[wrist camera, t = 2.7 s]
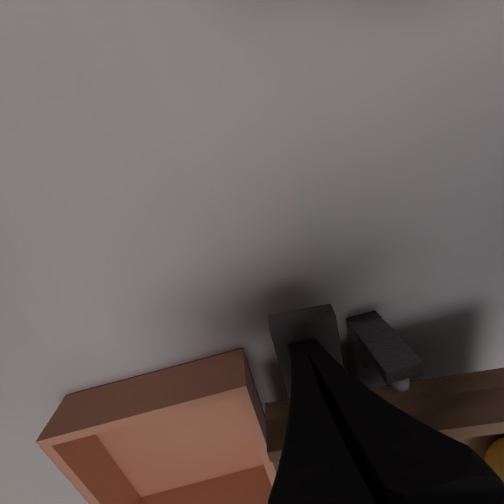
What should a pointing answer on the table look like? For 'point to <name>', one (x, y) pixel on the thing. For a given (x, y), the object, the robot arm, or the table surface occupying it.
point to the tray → (166, 437)
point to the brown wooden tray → (394, 388)
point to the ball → (496, 457)
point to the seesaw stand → (380, 352)
